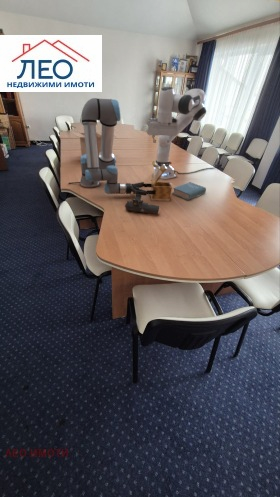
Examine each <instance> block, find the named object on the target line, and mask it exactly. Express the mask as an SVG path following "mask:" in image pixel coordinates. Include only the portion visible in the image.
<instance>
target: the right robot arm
mask: <svg viewBox="0 0 280 497" xmlns="http://www.w3.org/2000/svg"><path fill="white" fill-rule="evenodd" d="M205 99H206V92H205V91H204V90H203V89H202V88H191V89H188V90H187V91H186V92H185V93H184V94H177V93H175V92H174V87H173V86H164V87H162V88H161V89H160V91H159V96H158V102H157V105H158V110H157V115H156V118H155V117H154V118H153V117H150V118H149V119H148V120H147V124H146V125H147V128H146V134H147V135H148V136H151V137H152V142H153V144H156V143H157V142H158V143H157V150H156V159H155V163H156V164H157V165H158V166H160V167H161V166H162V165H163V164H164V165H165V166H166V168H167V169H166V171H165V172H164V173H163V175H162V176H161V177H160V179H162V180H169V179H173V178H177V175H176V174H178V175H187V174H194V173H198V172H200V171H205V170H211V169H212V170H213V169H218V170H220V167H219V166H216V167H206V168H202V169H197V170H195V171H191V172H178V171H177V170H175V169H174V168H173V167H172V166H171V165H172V164H173V162H172V161H169V158H170V152H171V145H172V141H174V140H175V138H176V137H177V136H178V135H179V134H181V132H182V131H183V130H185V129H186V127H188V126H189V125H190V124H191V122H192V121H200V120H203V118H205V116H206V115H207V109H206V106H205V105H204V102H205ZM174 113H175V114H178V115H177V116H176V117H174V116H172V115H173V114H174ZM156 136H158V137H157V139H155V137H156ZM158 166H157V167H158ZM153 169H154V171H153V175H152V176H153V177H154V176H155V174H156V173H157V171H158V170H159V169H158V168H156V167H153Z"/></svg>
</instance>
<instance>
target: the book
mask: <svg viewBox="0 0 280 497" xmlns="http://www.w3.org/2000/svg"><path fill="white" fill-rule="evenodd" d="M172 190H173V191H172V195H175V196H177V197H179V198H182V199H183V200H186V201H189V200H192V199H194V198H196V197H199V196H202V195H203V194H206V192H207V187H206V186H202V185H199V184H197V183H194V182H192V181H189V182H185V183H183V184H181V185H178V186H174V187H172Z"/></svg>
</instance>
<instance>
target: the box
mask: <svg viewBox="0 0 280 497" xmlns="http://www.w3.org/2000/svg"><path fill="white" fill-rule="evenodd" d="M70 133H71V134H72V135H74V136H75V137H77V138H79V144H80V153H81V156H82V155H85V154H86V146H85V136H84V130H77V132H76V131H70ZM101 133H102V131H98V132H97V131H96V137H97V150H98V156H99V153H100V152H101Z"/></svg>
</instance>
